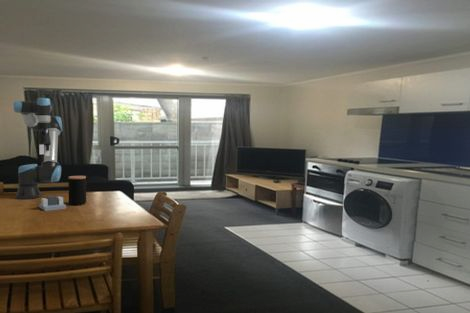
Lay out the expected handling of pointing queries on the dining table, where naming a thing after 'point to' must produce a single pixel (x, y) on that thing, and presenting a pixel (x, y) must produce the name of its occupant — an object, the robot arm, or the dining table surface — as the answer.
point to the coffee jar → (77, 190)
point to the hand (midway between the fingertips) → (44, 155)
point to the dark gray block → (52, 200)
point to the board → (52, 207)
